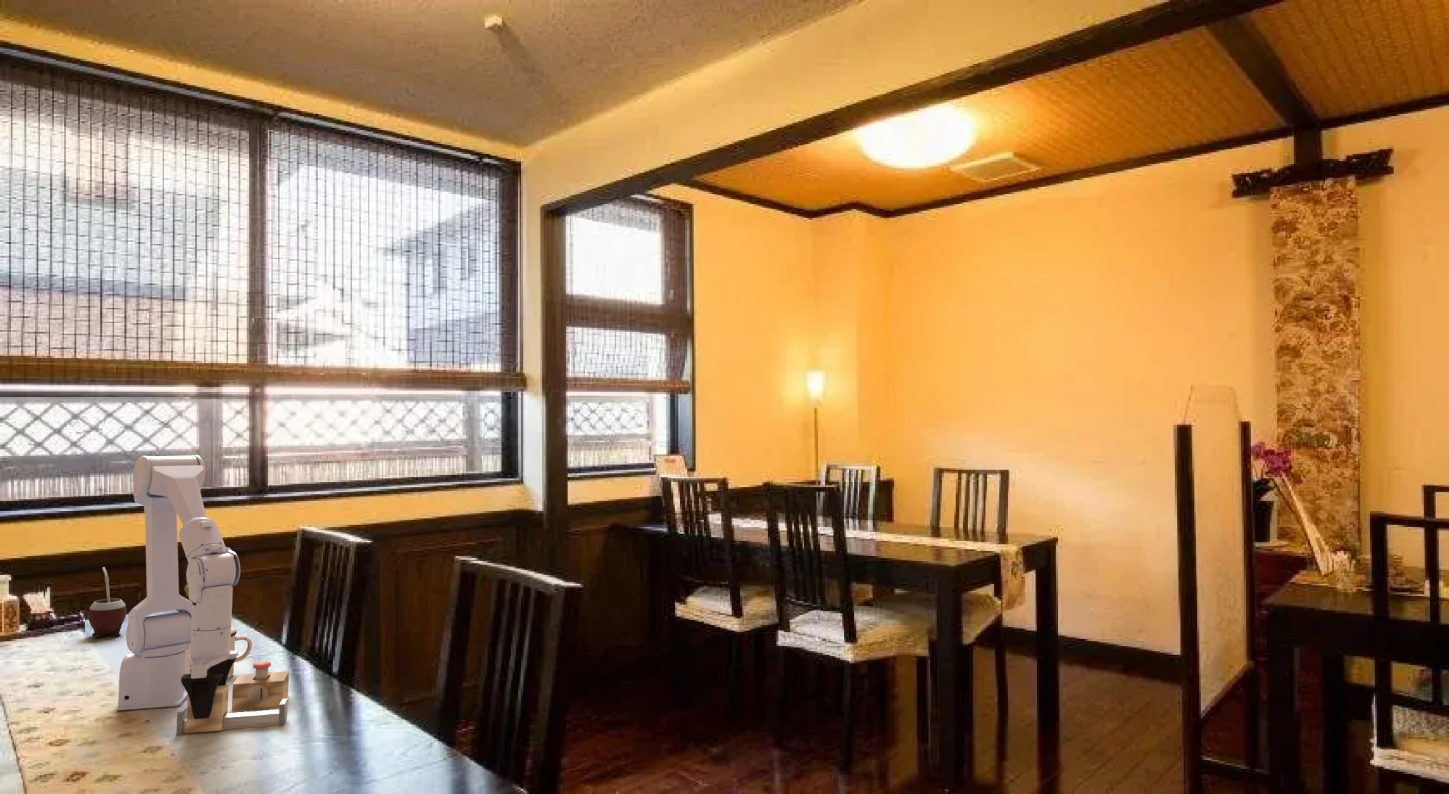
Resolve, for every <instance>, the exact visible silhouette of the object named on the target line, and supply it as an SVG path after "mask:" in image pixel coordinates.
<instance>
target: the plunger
mask: <svg viewBox="0 0 1449 794" xmlns="http://www.w3.org/2000/svg"><path fill="white" fill-rule="evenodd" d="M252 665H253V667H252V668H253V669H255V673H256V674H255V680H263V679H268V672H269V668H271V666H272V662H271V661H268V660H267V661H264V660H263V661H258V662H255V663H252Z"/></svg>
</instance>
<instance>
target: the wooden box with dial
mask: <svg viewBox="0 0 1449 794" xmlns="http://www.w3.org/2000/svg"><path fill="white" fill-rule="evenodd" d="M255 674H256V672H255V673H243V674H242V673H240V674H239V675H238V677H236V679H235V680H234V682H233V683H232V690H231V691H232V694H231V697H232V698H231V711H238V710H239V711H240V710H251V709H253V710H254V709H262V708H263V709H264V708H277V707H278V708H279V704H280V703H281V701H282V699H286V698H288V697H289V682H290V681H289V680H290V671H288V670H286V671H271V672H269V671H268V679H263V680H255ZM287 696H288V697H287Z"/></svg>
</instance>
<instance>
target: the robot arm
mask: <svg viewBox="0 0 1449 794" xmlns="http://www.w3.org/2000/svg"><path fill="white" fill-rule="evenodd" d="M205 477H206V464H205V461H204V460H203V458H202V457H201V456H200V455H198V454H193V455H167V456H165V455H164V456H162V455H161V456H160V455H159V456H154V455H153V456H152V455H151V456H148V455H141V456H140V457H139V458H138V459H137V460H136V462H135V464H134V468H133V471H132V494H133V500H134V502H135V503H136V504H139V505H141V506H143V510H144V521H145V523H144V524H145V525H144V526H145V564H146V565H145V566H146V568H145V569H146V571H145V572H146V573H145V574H146V597H145V598H144V599H143V600H141V601H140V602H139V603H138V604H136V605H135V606H134V607H133V608H132V609H131V610H130V611H129V612H128V621H127V627H126V630H125V642H126V646H127V648H128V650H129V651H130V652H131V653H126V654H125V655H124V657H123V658H122V660H121V664H120V668H119V679H118V699H117V707H116V711H127V710H140V709H141V710H142V709H143V710H144V709H157V708H168V707H178V706H180V705H181V704H182V703H183V702H184V701H185V700H186V698H188V696H189V699H190V703H191V708H192V713H193V717H194V719H203V718H209V717H210V714H211V711H212V707H213V701H214V696H215V692H216V689H217V686H223V685H227V681H228V679H227V677H228V675H229V672H230V669H231V667H232V665H233V663H234V664H235V663H236V662H235V660H236V658H238V657H239V650H235V651H231V650H230V642H231V626H232V618H233V617H232V613H233V612H232V611H233V590H234V589H233V587H235V586H236V585H237V584H238V582H239V580H240V577H241V563H240V559H239V555H238V554H237V552H235V551H233V550H232V549H231V547H227V546H226V545H225V542H224V539H223V536H222V534H221V530H220V529H219V527H218V523H217V522H216V521H215V520H214V519H212V518H207V514H206V509H205V506H204V501H203V497H202V493H201V489H202V488H203V484H204V481H205ZM178 519H179V520H180V522H181V524H182V526H181V528H180V529H179V532H178ZM178 538H179V540H180V542H181V546H182V549H183V551H184V554H185V558H186V559H187V562H188V564H187V567H186V572H185V575H186V582H187V585H188V587H189V597H188V599H187V598H185V597H184V596H182V595H181V594H180V590H179V589H180V587H179V586H180V585H179V583H180V582H179V553H178V552H179V548H178V546H179V544H178ZM171 611H176V612H171ZM162 612H163V613H164V612H170V613H164V614H163V613H162ZM156 613H162V614H158V615H152V614H156ZM189 645H190V655H189V656H188V661H189V663H190V665H191V666H192V667H191V674H184V673H185V650H189Z"/></svg>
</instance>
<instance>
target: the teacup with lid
mask: <svg viewBox="0 0 1449 794" xmlns="http://www.w3.org/2000/svg"><path fill="white" fill-rule="evenodd" d="M236 641H245V642H247V643H246V644H247V648H246V650H245V652H244V653H243V654H242V655H240V656H237V657H236V660H235V662H234V663H233V665H232V667H231V669H230V672H229V675H228V677H227V680H228V679H230V678H232V676H234V672H235V663H239V662H241V661H243V660H245V659H246V658H247V657H248V656H249V655H250V653H251V651H252V648H253V642H252V639H250V638H249V637H248V636H246V635H237V629H236V627H234V626H232V625H231V642H230V650H231V651H236V650H235V648H236V647H235V646H236ZM189 655H190V645H189V650H185V673H184V674H191V667H192V666H191V665H190V663H189V661H188V656H189Z"/></svg>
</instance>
